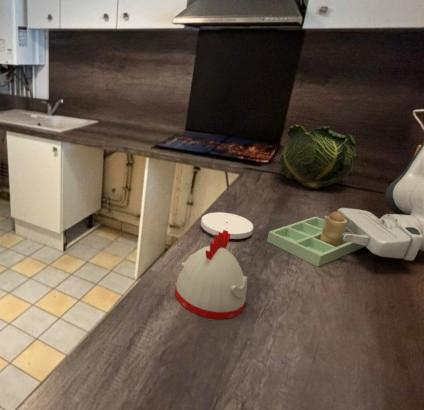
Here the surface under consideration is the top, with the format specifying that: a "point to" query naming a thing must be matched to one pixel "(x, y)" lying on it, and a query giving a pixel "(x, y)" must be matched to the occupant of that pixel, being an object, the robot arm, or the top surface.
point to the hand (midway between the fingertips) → (333, 227)
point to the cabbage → (317, 156)
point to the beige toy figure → (333, 228)
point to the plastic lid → (227, 225)
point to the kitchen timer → (212, 281)
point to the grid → (309, 242)
